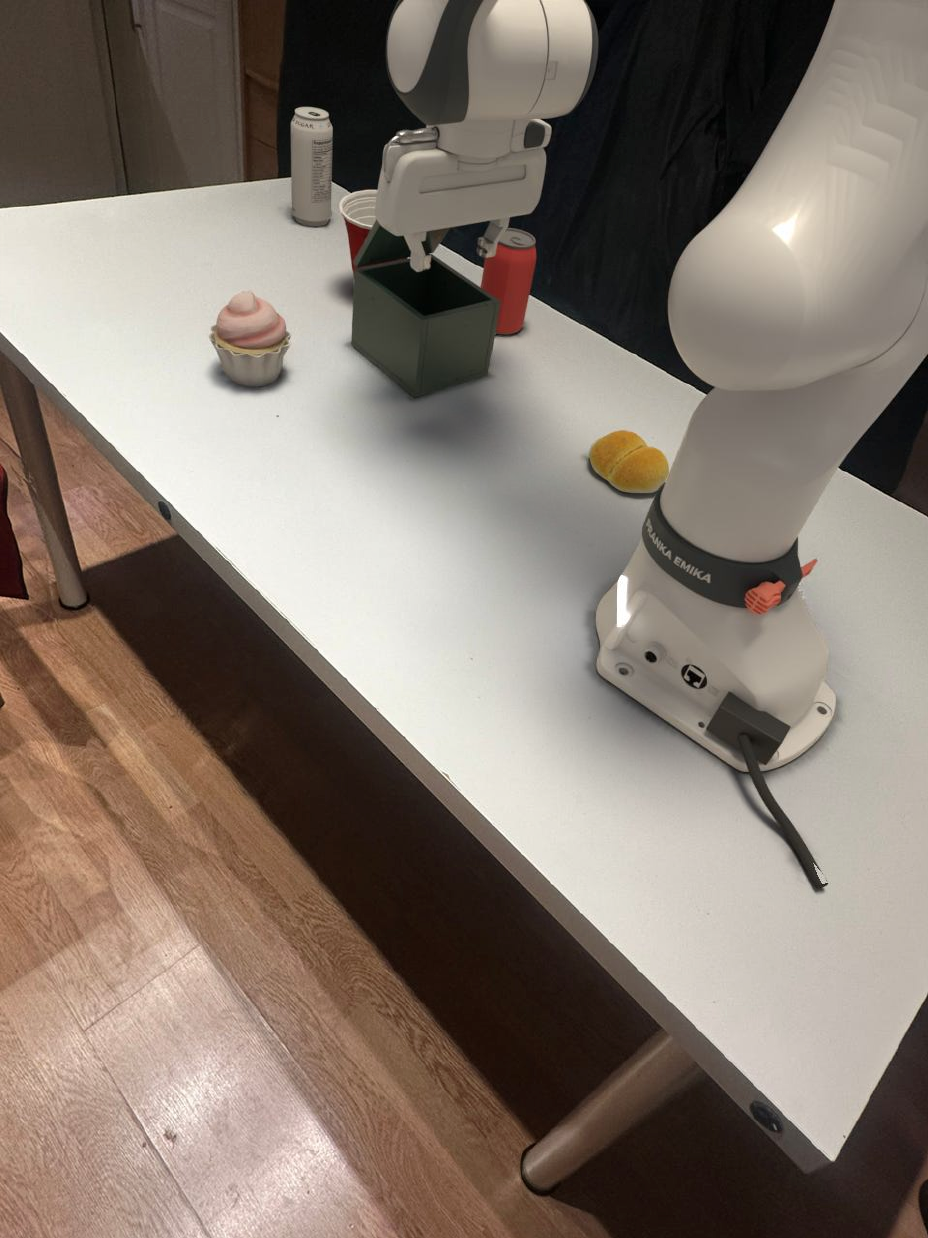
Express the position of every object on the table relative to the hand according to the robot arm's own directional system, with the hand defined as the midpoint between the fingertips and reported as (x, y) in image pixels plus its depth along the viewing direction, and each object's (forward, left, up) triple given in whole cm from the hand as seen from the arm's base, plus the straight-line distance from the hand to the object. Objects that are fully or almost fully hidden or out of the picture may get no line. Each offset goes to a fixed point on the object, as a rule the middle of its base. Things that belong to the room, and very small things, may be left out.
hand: (453, 262), depth 92 cm
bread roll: (-26, -7, -14) cm, 30 cm away
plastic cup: (+21, -5, -14) cm, 26 cm away
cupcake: (+10, +20, -14) cm, 27 cm away
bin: (+4, 0, -14) cm, 15 cm away
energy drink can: (+46, -10, -14) cm, 49 cm away
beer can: (+7, -16, -14) cm, 23 cm away
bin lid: (+7, 0, +2) cm, 7 cm away
